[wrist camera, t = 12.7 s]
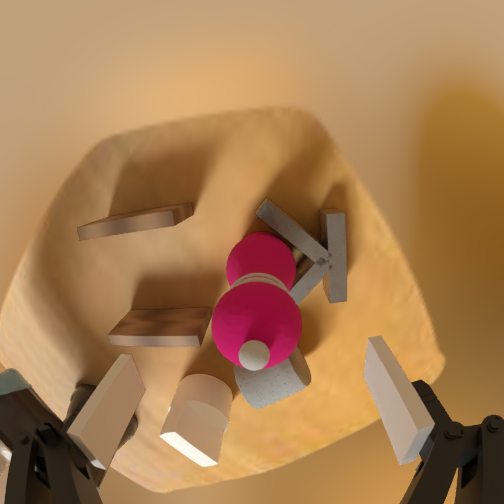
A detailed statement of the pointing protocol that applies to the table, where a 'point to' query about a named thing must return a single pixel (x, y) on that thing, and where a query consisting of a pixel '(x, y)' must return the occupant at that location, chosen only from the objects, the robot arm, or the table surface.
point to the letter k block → (314, 251)
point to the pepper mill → (258, 304)
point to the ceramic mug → (273, 380)
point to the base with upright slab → (198, 418)
